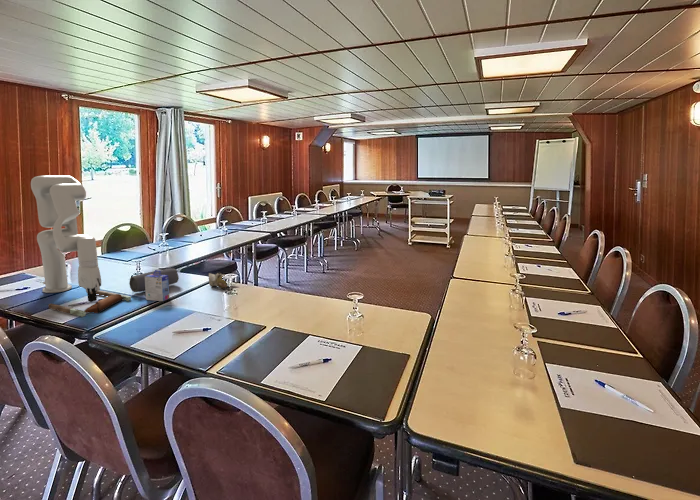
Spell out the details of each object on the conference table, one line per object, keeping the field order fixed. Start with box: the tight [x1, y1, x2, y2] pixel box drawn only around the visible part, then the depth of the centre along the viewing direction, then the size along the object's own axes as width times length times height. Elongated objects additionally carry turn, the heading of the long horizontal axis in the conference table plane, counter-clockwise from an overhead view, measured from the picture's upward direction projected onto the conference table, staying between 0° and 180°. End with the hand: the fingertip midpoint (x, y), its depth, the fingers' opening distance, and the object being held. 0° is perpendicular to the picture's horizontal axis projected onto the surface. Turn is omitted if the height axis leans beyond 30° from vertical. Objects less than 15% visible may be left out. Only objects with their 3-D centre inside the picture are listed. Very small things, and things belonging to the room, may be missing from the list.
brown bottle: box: [84, 293, 124, 314], centre depth 194 cm, size 18×7×7 cm
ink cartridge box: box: [145, 269, 170, 302], centre depth 205 cm, size 10×6×14 cm, turn 79°
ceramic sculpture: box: [208, 272, 238, 290], centre depth 228 cm, size 11×9×15 cm
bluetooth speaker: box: [129, 267, 180, 293], centre depth 220 cm, size 23×9×10 cm, turn 144°
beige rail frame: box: [47, 289, 132, 318], centre depth 196 cm, size 23×24×2 cm
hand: (92, 300), depth 196 cm, fingers closed
